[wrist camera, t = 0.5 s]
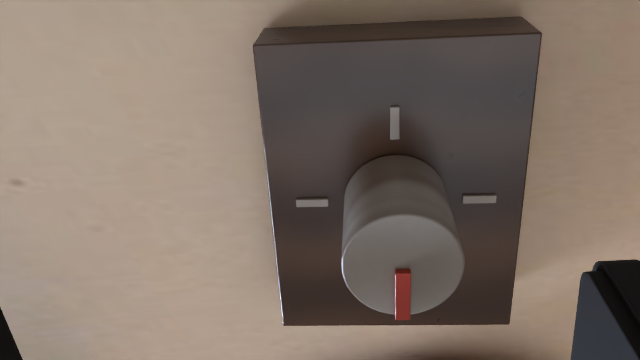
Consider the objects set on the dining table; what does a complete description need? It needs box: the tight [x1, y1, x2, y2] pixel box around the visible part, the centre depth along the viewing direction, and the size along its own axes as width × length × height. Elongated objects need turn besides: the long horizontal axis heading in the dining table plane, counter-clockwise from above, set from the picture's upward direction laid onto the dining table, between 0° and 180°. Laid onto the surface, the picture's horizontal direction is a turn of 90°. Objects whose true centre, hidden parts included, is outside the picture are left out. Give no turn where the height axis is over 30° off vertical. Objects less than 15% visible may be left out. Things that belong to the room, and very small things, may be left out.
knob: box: [341, 155, 465, 320], centre depth 23 cm, size 4×4×5 cm
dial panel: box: [253, 17, 542, 326], centre depth 27 cm, size 14×11×3 cm
